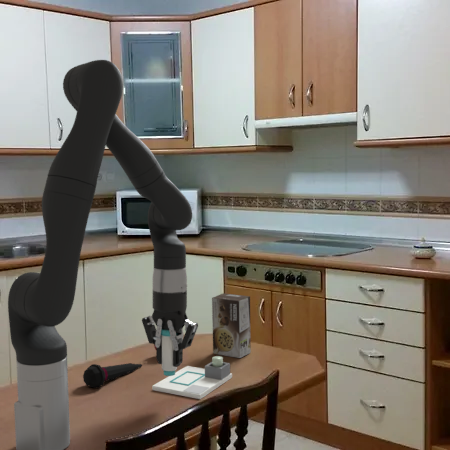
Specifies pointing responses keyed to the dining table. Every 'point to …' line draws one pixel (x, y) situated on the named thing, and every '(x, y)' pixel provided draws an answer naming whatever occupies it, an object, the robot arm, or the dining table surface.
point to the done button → (217, 361)
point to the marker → (167, 354)
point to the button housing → (217, 371)
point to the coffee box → (231, 325)
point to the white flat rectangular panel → (189, 383)
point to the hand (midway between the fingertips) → (169, 364)
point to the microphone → (106, 373)
